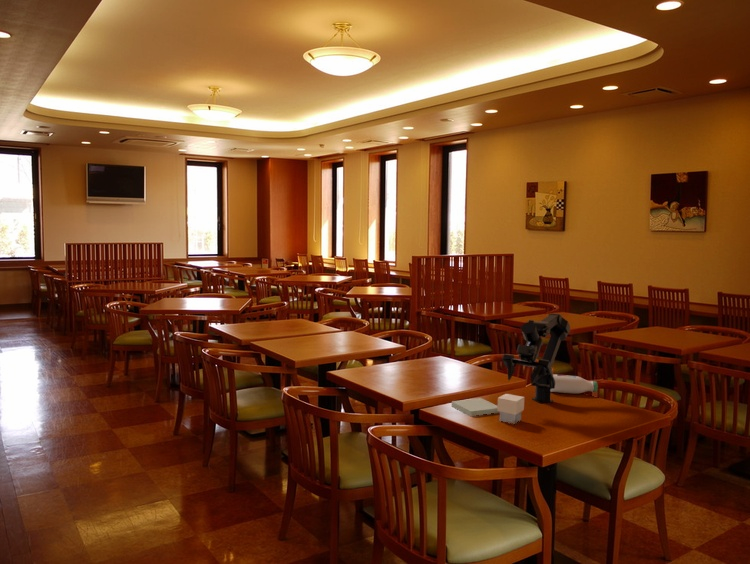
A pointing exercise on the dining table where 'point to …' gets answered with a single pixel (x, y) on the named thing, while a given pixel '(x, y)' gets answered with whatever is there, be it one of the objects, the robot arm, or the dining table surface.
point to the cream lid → (510, 404)
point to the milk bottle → (573, 384)
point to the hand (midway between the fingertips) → (520, 381)
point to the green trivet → (475, 407)
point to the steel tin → (510, 417)
